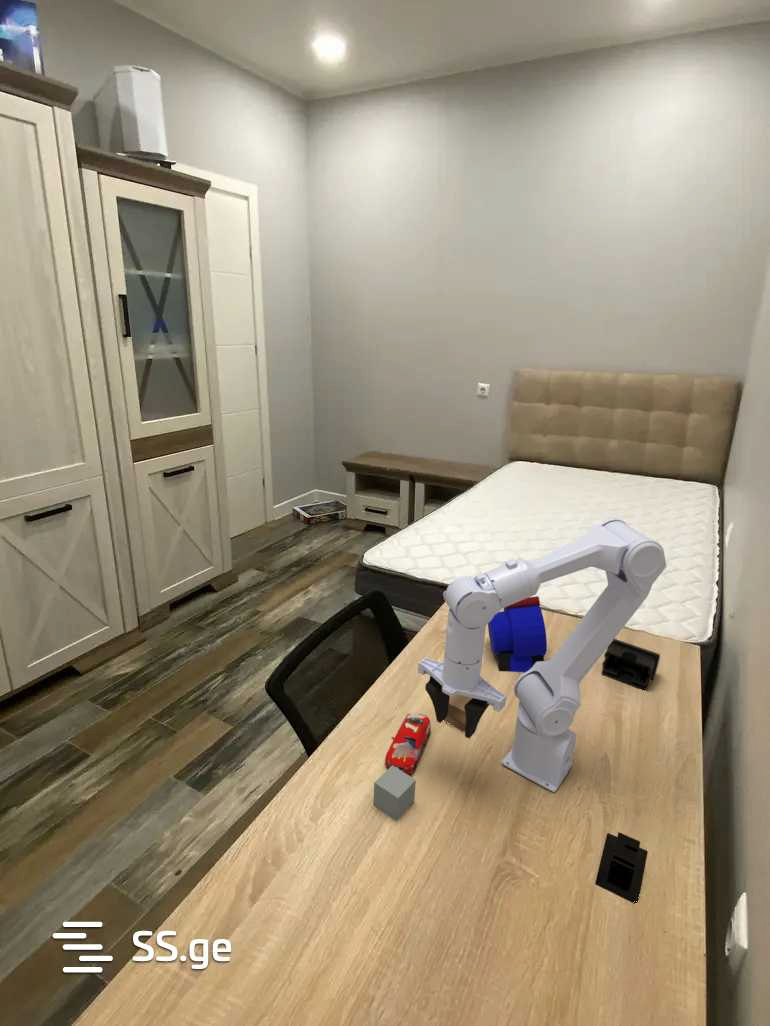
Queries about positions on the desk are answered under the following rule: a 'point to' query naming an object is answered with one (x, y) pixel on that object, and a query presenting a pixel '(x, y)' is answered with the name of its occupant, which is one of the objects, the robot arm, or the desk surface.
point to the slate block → (394, 792)
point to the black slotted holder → (630, 664)
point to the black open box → (622, 866)
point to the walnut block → (457, 711)
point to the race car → (409, 743)
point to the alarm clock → (518, 636)
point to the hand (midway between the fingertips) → (455, 726)
